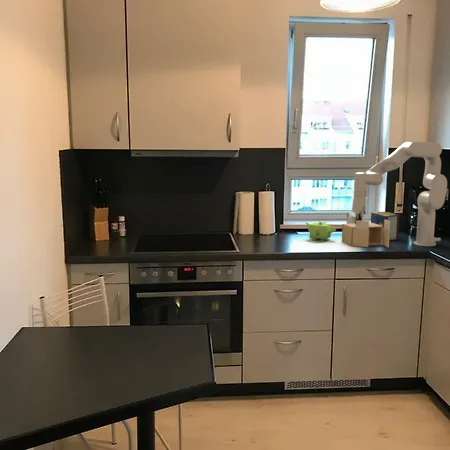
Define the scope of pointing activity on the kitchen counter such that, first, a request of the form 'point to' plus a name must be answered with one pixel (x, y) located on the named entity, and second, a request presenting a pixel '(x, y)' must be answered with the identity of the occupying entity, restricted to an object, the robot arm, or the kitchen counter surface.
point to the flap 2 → (386, 233)
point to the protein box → (393, 218)
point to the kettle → (320, 231)
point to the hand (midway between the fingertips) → (358, 225)
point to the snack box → (351, 218)
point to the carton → (374, 234)
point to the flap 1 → (361, 234)
